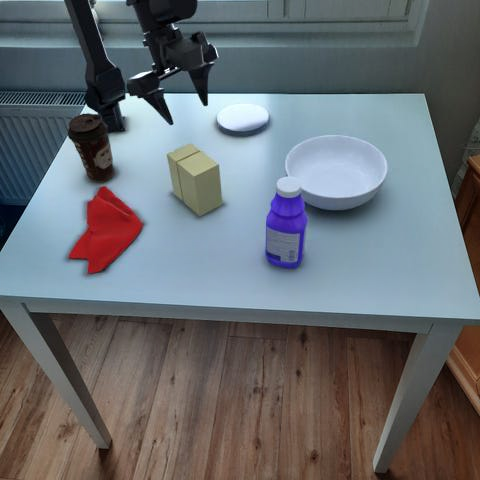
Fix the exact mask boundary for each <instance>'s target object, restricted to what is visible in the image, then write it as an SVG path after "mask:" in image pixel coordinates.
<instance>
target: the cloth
mask: <svg viewBox="0 0 480 480" xmlns="http://www.w3.org/2000/svg"><path fill="white" fill-rule="evenodd" d="M86 224H87V226H88V227H87V228H86V230H85V231H84V233H83V234H82V235H81V236H80V238H79V239H77V241H76V242H75V244H74V246H73V247H72V248H71V250H70V252H69V254H68V256H67V258H68V259H83V260H87V262H88V264H87V270H86V274H89V275H92V274H96V273H99V272H101V271H102V270H106V269H107V267H108V266H109V265H110V264H111V263H112V262H113V261H114V260H116V259H117V257H118V256H120V255H121V254H122V253H123V252H124V251H125V250H126V249H127V248H128V247H129V246H130V244H131V243H132V242H133V241H134V240H135V239H136V237H137V236H138V235H139V233H140V232H141V230H142V228H143V225H144V222H143V221H141V220H140V218H139V217H138V215H137V214H136V213H135V211H134V210H133V209H132V208H131V207H130V206H128V205H127V204H126V203H125V202H124V201H123V200H122V199H121V198H119V196H116V194H115V193H114V192H113V191H111V190H110V189H109V188H108V187H107V185H103V186H100V187H99V188H98V189H97V193H96V194H94V195H93V198H92V199H91V200H88V201H87V202H86Z"/></svg>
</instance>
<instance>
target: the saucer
mask: <svg viewBox="0 0 480 480" xmlns="http://www.w3.org/2000/svg"><path fill="white" fill-rule="evenodd" d="M216 122H217V127H218V129H219V130H220V131H221V132H222V133H224V134H226V135H228V136H232V137H238V138H239V137H241V138H242V137H251V136H255V135H258V134H260V133H262V132H263V131H265V130H266V129H267V127H268V126H269V124H270V123H269V122H270V115H269V112H268V111H267V109H266V108H265V107H263V106H261V105H258V104H254V103H247V102H241V103H235V104H231V105H228V106H225V107H224V108H222V109H221V110H220V111H219V112H218V114H217V117H216Z"/></svg>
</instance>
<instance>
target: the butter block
mask: <svg viewBox="0 0 480 480" xmlns="http://www.w3.org/2000/svg"><path fill="white" fill-rule="evenodd" d="M177 165H178V171H179V177H180V182H181V188H182V194H183V200H184V201H183V204H185V205H186V206H187V207H188V208H189V209H190V210H192V211H193V212H194V213H195V214H196V215H197V216H199V217H202V216H204V215H206V214H208V213H210V212H211V211H213V210H215V209H217V208H220V207H221V206H223V204H224V203H223V194H222V193H223V192H222V184H221V181H222V180H221V173H220V171H221V170H220V163H218V162H217V161H215V159H213V158H212V157H210V156H209V155H208V154H207V153H205V152H204V151H203V150H200V152H198V153H196V154H194V155H192V156H190V157H188V158H186V159H184V160H181V161H179V162H177Z"/></svg>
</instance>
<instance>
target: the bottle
mask: <svg viewBox="0 0 480 480" xmlns="http://www.w3.org/2000/svg"><path fill="white" fill-rule="evenodd" d="M305 208H306V204H305V202H304V201H303V199H302V198H301V182H300V180H298V179H297V178H295V177H286V176H283V177H281V178H279V179H278V180H277V181H276V187H275V195H274V196H273V198H272V199H271V201H270V209H269V211H268V213H267V214H266V216H265V217H266V220H265V251H264V252H265V257H266V260H267V262H269V263H270V264H271V265H273V266H275V267H280V268H284V269H295V268H296V267H297V266H299V264H301V262H302V260H303V258H304V256H305V255H304V253H305V246H306V238H307V230H308V215H307V213H306V211H305Z"/></svg>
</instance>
